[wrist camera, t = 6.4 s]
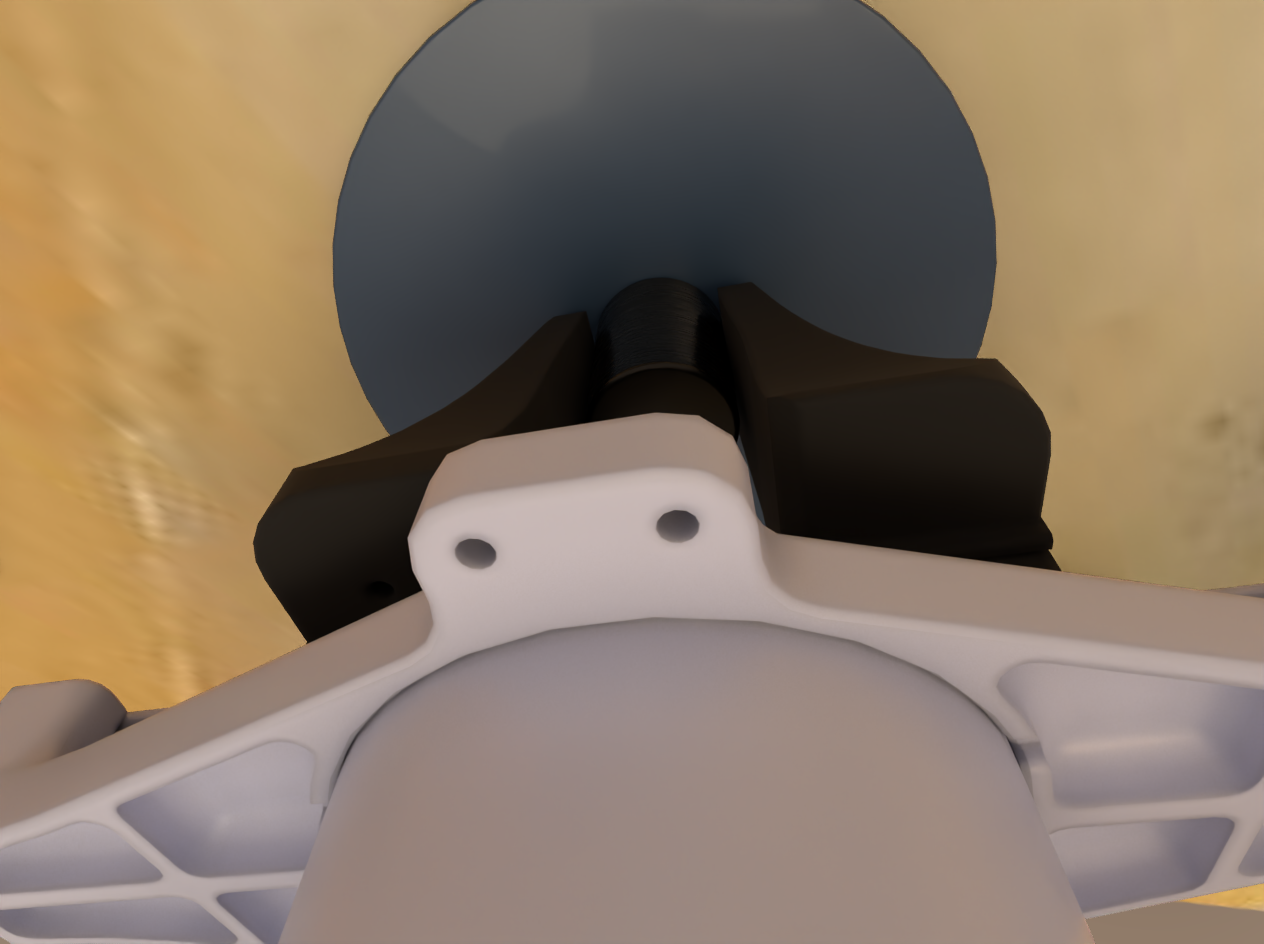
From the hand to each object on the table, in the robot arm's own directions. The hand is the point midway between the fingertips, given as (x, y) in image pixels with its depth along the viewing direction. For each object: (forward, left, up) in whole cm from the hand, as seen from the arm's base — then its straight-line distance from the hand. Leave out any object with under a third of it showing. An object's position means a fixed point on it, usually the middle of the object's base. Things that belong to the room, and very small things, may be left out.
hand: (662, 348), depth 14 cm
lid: (0, 0, -1) cm, 1 cm away
